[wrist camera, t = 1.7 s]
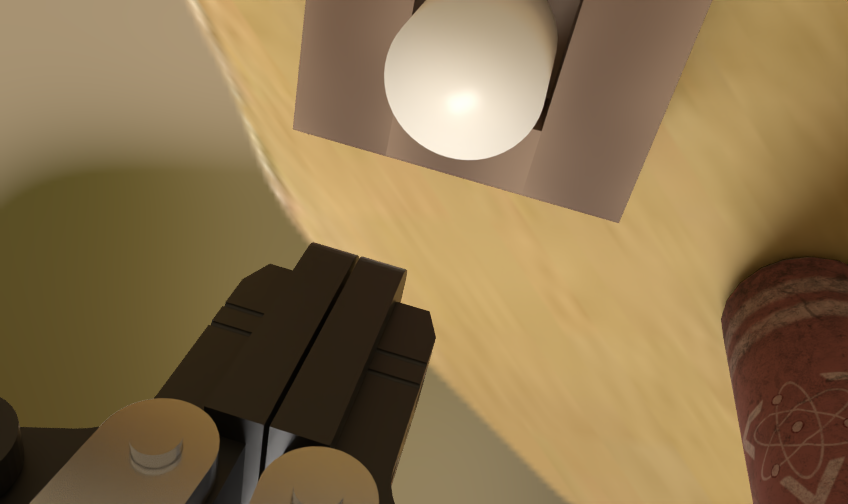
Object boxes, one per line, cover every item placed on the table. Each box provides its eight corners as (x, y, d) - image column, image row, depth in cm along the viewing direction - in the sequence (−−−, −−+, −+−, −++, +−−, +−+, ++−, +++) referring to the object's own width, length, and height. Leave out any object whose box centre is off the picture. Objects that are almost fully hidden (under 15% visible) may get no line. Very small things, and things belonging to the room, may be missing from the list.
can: (703, 360, 33) (747, 676, 21) (741, 239, 29) (818, 540, 18) (850, 384, 32) (980, 731, 20) (907, 262, 28) (1104, 597, 17)
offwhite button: (576, -12, 21) (568, 26, 18) (534, 123, 24) (521, 177, 21) (432, -50, 22) (399, -19, 18) (406, 87, 24) (372, 135, 21)
